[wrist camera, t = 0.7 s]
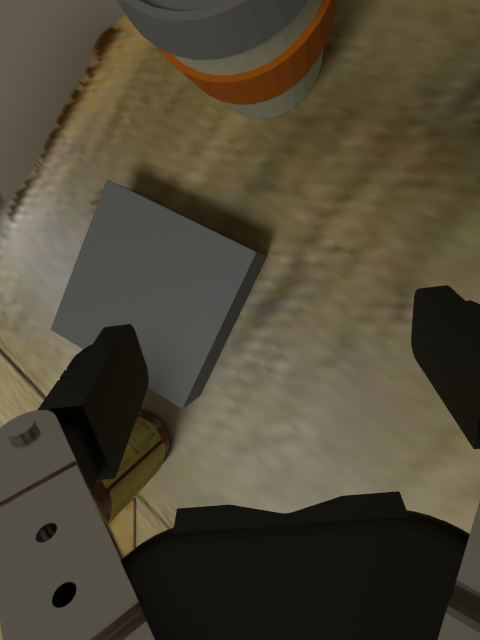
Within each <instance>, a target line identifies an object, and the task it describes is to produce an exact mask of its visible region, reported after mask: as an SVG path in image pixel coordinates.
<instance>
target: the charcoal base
mask: <svg viewBox="0 0 480 640" xmlns="http://www.w3.org/2000/svg"><path fill="white" fill-rule="evenodd" d="M266 257H267V256H266V255H264V254H262V253H260V252H258V251H256V250H254V249H251V248H249V247H247V246H245V245H243V244H241V243H239V242H237V241H235V240H233V239H231V238H229V237H227V236H225V235H223V234H221V233H219V232H217V231H215V230H212V229H210V228H208V227H206V226H204V225H202V224H200V223H198V222H196V221H194V220H192V219H190V218H188V217H186V216H184V215H182V214H180V213H178V212H175V211H173V210H171V209H169V208H167V207H165V206H163V205H161V204H159V203H157V202H155V201H153V200H151V199H149V198H147V197H145V196H143V195H141V194H139V193H136V192H134V191H132V190H130V189H128V188H125V187H123V186H121V185H119V184H116V183H114V182H112V181H109V180H107V181H106V184H105V186H104V189H103V192H102V194H101V197H100V200H99V202H98V205H97V208H96V210H95V213H94V216H93V218H92V221H91V224H90V226H89V229H88V232H87V234H86V237H85V240H84V242H83V245H82V248H81V250H80V253H79V256H78V258H77V261H76V264H75V266H74V269H73V272H72V274H71V277H70V280H69V282H68V285H67V288H66V290H65V293H64V296H63V298H62V301H61V304H60V306H59V309H58V312H57V314H56V317H55V320H54V322H53V325H52V327H51V330H52V331H54V332H56V333H57V334H59V335H61V336H62V337H64V338H66V339H67V340H69V341H71V342H72V343H74V344H76V345H77V346H79V347H80V348H82V349H85V348H86V347H87V346H88V345H92V344H93V343H94V341H95V340H96V338H97V337H98V335H99V334H100V332H101V331H102V329H103V328H104V327H108V326H116V325H124V324H131V325H132V326H133V327H134V329H135V332H136V335H137V338H138V341H139V344H140V347H141V350H142V353H143V356H144V359H145V362H146V365H147V369H148V376H149V382H148V389H150V390H152V391H153V392H155V393H157V394H158V395H160V396H162V397H163V398H165V399H166V400H168V401H170V402H171V403H173V404H175V405H176V406H178V407H180V408H181V409H183V408H184V407H186V406H187V405H188V404H190V403H191V402H192V401H194V400H195V399H196V398H198V397H199V396H200V395H201V393H202V390H203V388H204V386H205V384H206V382H207V380H208V378H209V376H210V374H211V372H212V370H213V368H214V365H215V363H216V361H217V359H218V357H219V355H220V353H221V351H222V349H223V347H224V345H225V342H226V340H227V338H228V336H229V334H230V332H231V330H232V328H233V326H234V324H235V322H236V320H237V317H238V315H239V313H240V311H241V309H242V307H243V305H244V303H245V301H246V299H247V297H248V294H249V292H250V290H251V288H252V286H253V284H254V282H255V280H256V278H257V276H258V274H259V271H260V269H261V267H262V265H263V263H264V261H265V259H266Z"/></svg>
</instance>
